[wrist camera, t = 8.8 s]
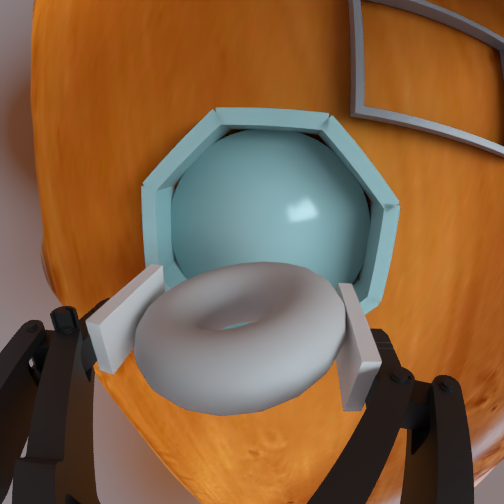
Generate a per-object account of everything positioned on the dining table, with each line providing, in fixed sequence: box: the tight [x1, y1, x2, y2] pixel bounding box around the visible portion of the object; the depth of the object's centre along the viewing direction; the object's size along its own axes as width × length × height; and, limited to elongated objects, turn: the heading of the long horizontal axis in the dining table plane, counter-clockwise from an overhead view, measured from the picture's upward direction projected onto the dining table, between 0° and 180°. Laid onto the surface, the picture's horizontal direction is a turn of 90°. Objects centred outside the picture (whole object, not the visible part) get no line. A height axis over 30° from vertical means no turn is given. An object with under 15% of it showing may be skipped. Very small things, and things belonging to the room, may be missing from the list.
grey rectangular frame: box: [348, 0, 504, 158], centre depth 19 cm, size 22×16×2 cm
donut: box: [134, 262, 346, 416], centre depth 13 cm, size 10×4×10 cm, turn 101°
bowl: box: [141, 107, 400, 330], centre depth 27 cm, size 23×23×4 cm
